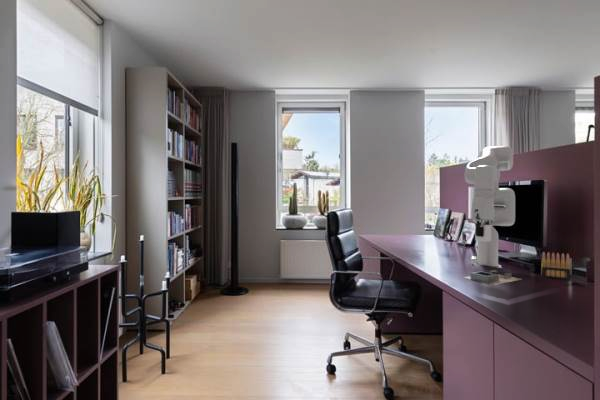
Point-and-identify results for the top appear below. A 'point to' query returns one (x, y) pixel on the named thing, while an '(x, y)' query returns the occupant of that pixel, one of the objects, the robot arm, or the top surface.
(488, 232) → the plug
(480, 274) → the frame
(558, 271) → the ammunition clip
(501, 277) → the board
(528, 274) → the top surface
